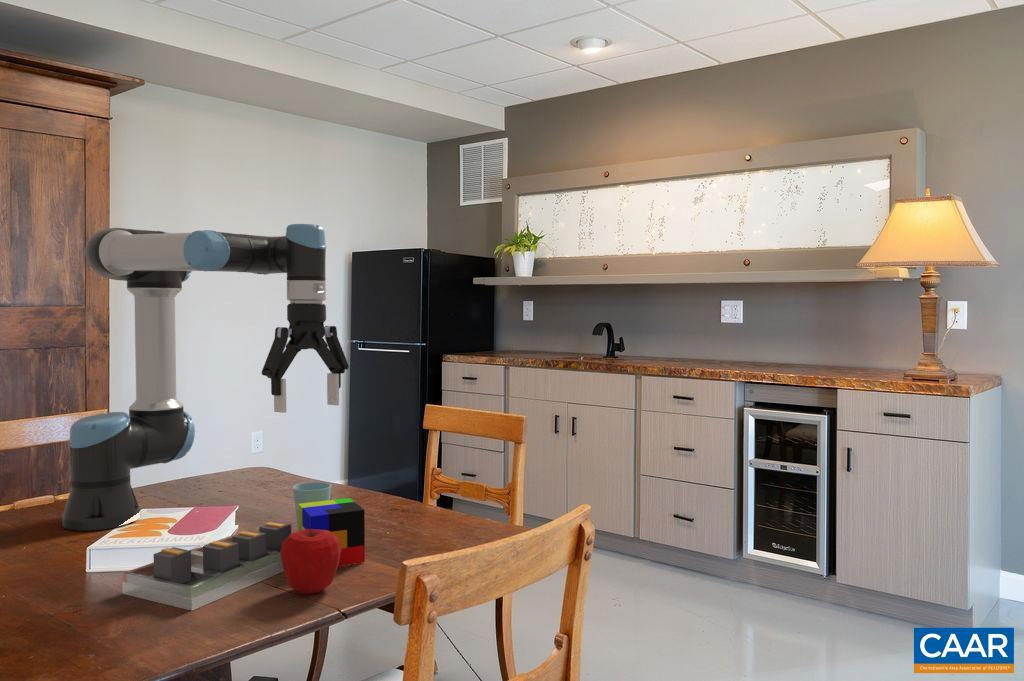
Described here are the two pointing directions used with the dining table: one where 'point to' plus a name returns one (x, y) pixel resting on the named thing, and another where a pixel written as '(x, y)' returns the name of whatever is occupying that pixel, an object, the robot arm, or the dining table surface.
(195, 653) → the dining table surface
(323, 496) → the cup
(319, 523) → the puzzle toy
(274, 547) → the block
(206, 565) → the block
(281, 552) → the apple
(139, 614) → the dining table surface
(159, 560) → the block
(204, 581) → the panel
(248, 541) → the block
